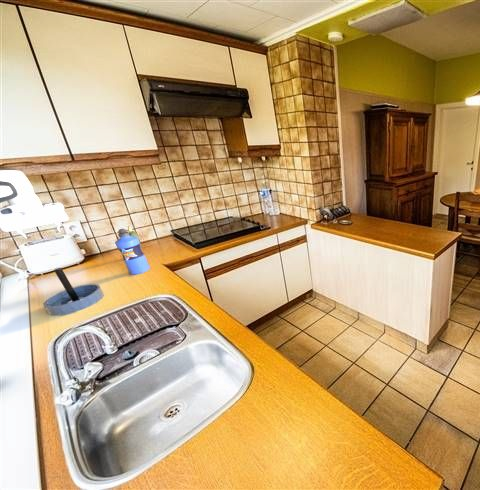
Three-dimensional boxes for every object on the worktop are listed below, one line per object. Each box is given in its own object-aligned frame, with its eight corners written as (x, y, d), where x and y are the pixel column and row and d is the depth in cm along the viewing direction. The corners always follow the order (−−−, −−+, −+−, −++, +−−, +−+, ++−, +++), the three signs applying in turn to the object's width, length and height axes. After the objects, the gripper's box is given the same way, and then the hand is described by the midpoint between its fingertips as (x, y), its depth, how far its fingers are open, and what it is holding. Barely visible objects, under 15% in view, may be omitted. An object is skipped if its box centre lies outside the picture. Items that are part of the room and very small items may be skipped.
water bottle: (134, 268, 152) (115, 227, 142) (153, 265, 154) (136, 225, 144) (126, 276, 144) (105, 233, 133) (146, 273, 146) (127, 230, 136)
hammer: (70, 309, 115) (47, 273, 108) (69, 304, 119) (47, 269, 112) (87, 303, 119) (67, 268, 112) (86, 299, 123) (66, 264, 115)
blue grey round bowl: (51, 324, 108) (43, 312, 106) (50, 308, 119) (42, 297, 116) (108, 303, 120) (102, 292, 118) (102, 290, 131) (96, 280, 128)
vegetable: (138, 254, 170) (125, 225, 162) (146, 253, 172) (134, 224, 164) (136, 257, 167) (123, 227, 159) (144, 255, 168) (132, 226, 160)
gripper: (60, 200, 127) (74, 227, 132) (-9, 210, 112) (10, 240, 118) (61, 201, 123) (75, 229, 128) (-11, 212, 109) (9, 243, 114)
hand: (43, 235), depth 123 cm, fingers open, 8 cm apart
